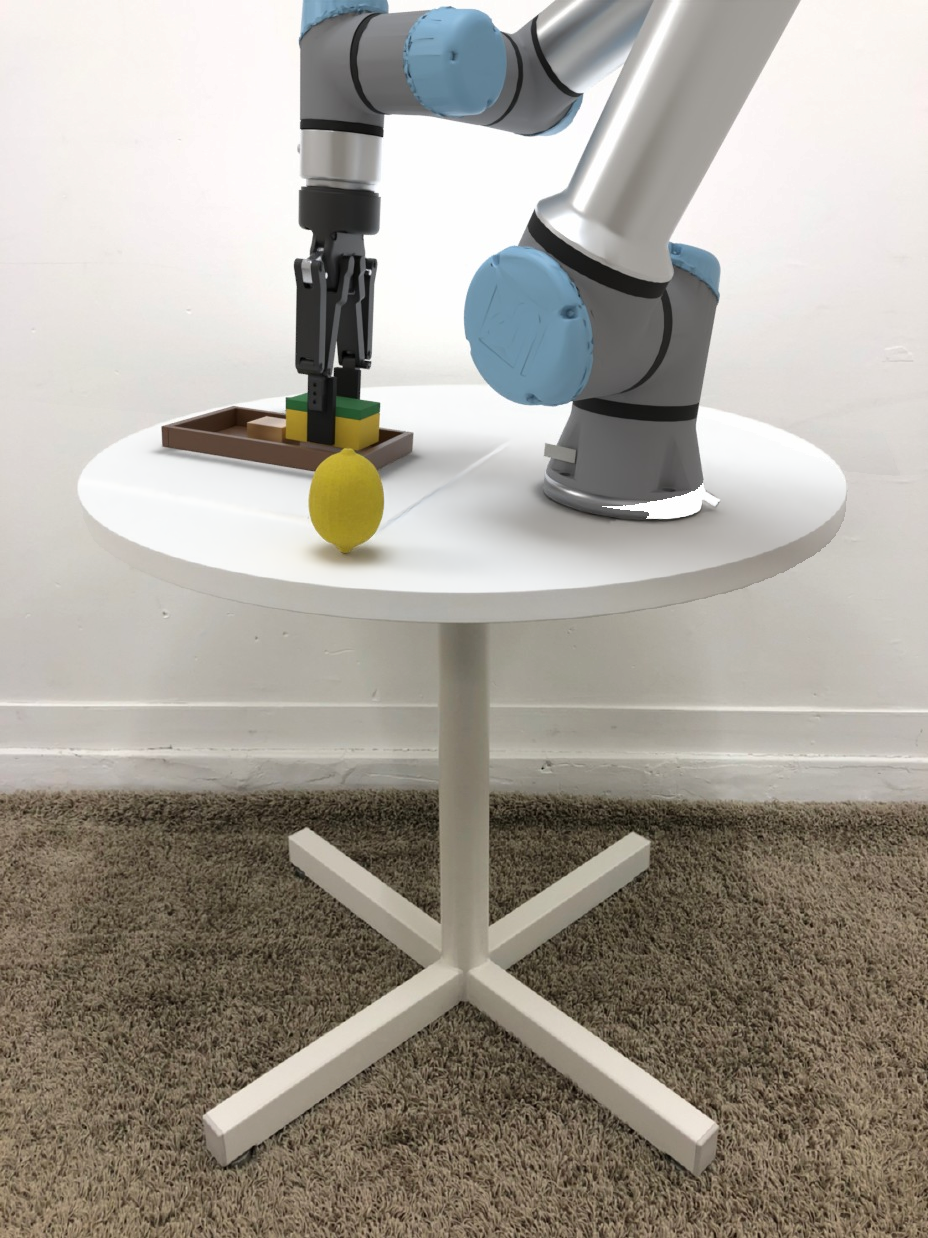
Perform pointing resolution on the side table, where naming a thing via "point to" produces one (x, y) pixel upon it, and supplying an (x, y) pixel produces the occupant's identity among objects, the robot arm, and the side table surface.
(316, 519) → the lemon
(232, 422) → the tray
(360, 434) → the sponge
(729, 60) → the robot arm
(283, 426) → the tan wooden block
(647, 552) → the side table surface
